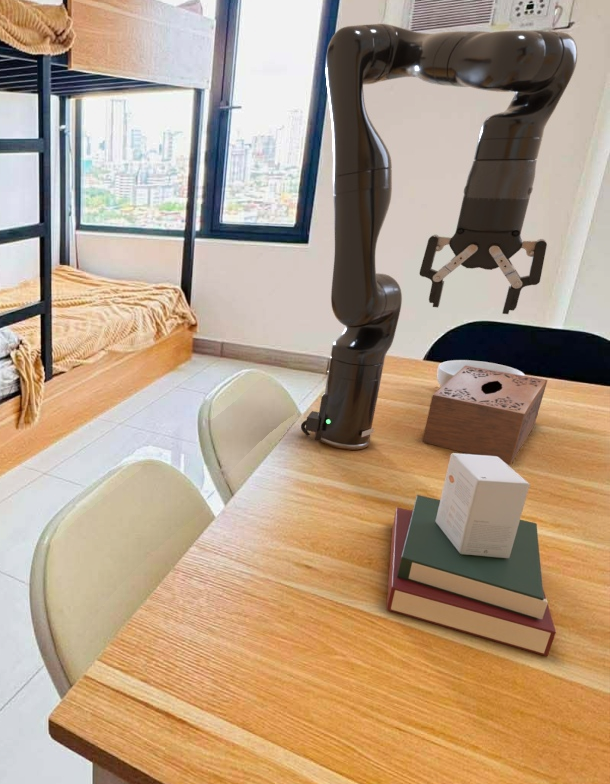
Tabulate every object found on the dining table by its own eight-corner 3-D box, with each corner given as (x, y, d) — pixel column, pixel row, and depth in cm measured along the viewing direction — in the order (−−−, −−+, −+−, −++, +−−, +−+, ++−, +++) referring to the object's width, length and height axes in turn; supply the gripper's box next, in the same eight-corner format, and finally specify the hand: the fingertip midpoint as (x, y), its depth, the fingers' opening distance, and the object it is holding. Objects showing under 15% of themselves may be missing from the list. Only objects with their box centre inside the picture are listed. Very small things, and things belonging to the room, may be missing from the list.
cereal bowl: (435, 382, 158) (441, 355, 156) (517, 394, 149) (525, 366, 146) (429, 402, 145) (435, 373, 143) (518, 417, 136) (527, 386, 133)
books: (386, 610, 78) (396, 566, 76) (392, 526, 96) (400, 489, 94) (548, 657, 71) (565, 610, 68) (522, 557, 88) (534, 517, 86)
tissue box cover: (455, 407, 142) (465, 365, 138) (534, 424, 132) (547, 379, 129) (422, 441, 125) (432, 394, 121) (510, 464, 115) (524, 414, 112)
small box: (509, 560, 77) (532, 484, 73) (458, 555, 78) (478, 480, 74) (479, 525, 84) (499, 455, 81) (433, 521, 85) (450, 451, 82)
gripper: (560, 194, 86) (529, 310, 91) (438, 192, 94) (416, 300, 99) (563, 197, 80) (530, 321, 85) (433, 195, 88) (410, 308, 94)
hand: (469, 309), depth 92 cm, fingers open, 8 cm apart
